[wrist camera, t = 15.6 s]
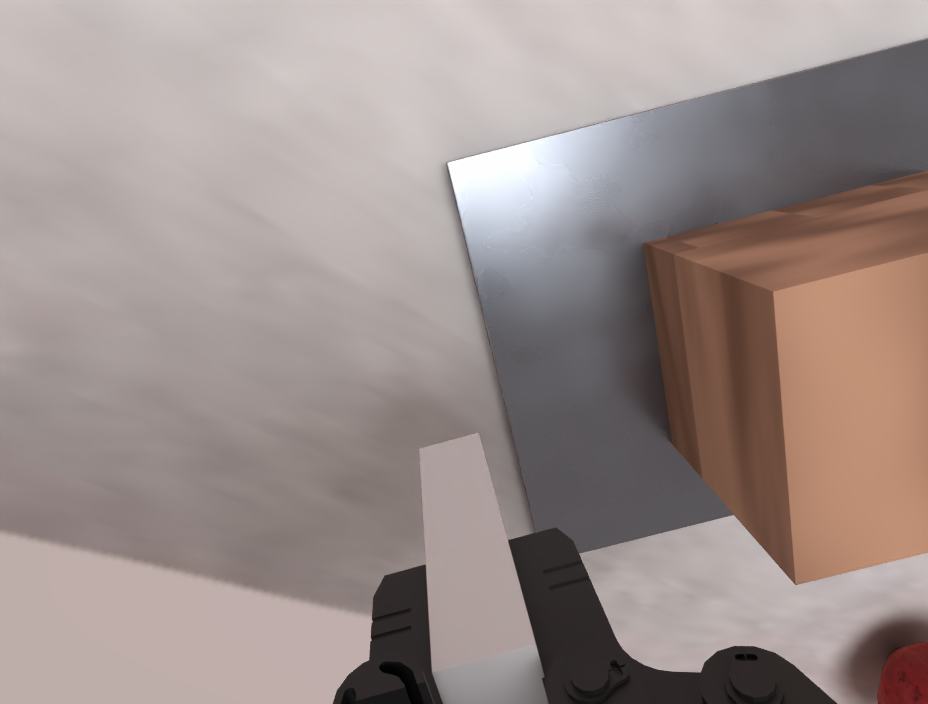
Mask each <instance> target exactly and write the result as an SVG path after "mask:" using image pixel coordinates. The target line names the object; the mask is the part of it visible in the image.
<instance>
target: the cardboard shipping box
mask: <svg viewBox="0 0 928 704" xmlns="http://www.w3.org/2000/svg"><path fill="white" fill-rule="evenodd" d="M643 244H644V251H645V258H646V265H647V272H648V279H649V286H650V293H651V300H652V306H653V313H654V320H655V327H656V334H657V341H658V348H659V355H660V362H661V369H662V376H663V383H664V389H665V396H666V403H667V410H668V417H669V424H670V431H671V438H672V445H673V446H674V447H675V448H676V449H677V451H678V452H679V453H680V454H681V455H682V456H683V457H684V458H685V460H686V461H687V462H688V463H689V464H690V465H691V466H692V468H693V469H694V470H695V471H696V472H697V473H698V474H699V476H700V477H701V478H702V479H703V480H704V481H705V482H706V484H707V485H708V486H709V487H710V488H711V489H712V490H713V492H714V493H715V494H716V495H717V496H718V497H719V498H720V499H721V501H722V502H723V503H724V504H725V505H726V506H727V507H728V509H729V510H730V511H731V512H732V513H733V514H734V515H735V517H736V518H737V519H738V520H739V521H740V522H741V523H742V525H743V526H744V527H745V528H746V529H747V530H748V531H749V533H750V534H751V535H752V536H753V537H754V538H755V539H756V540H757V542H758V543H759V544H760V545H761V546H762V547H763V548H764V550H765V551H766V552H767V553H768V554H769V555H770V556H771V558H772V559H773V560H774V561H775V562H776V563H777V564H778V566H779V567H780V568H781V569H782V570H783V571H784V572H785V574H786V575H787V576H788V577H789V578H790V579H791V580H792V581H793V583H794V584H795V585H798V584H802V583H806V582H810V581H814V580H818V579H822V578H826V577H830V576H834V575H838V574H842V573H847V572H851V571H855V570H859V569H863V568H867V567H871V566H875V565H879V564H883V563H887V562H891V561H895V560H899V559H903V558H907V557H911V556H915V555H919V554H924V553H928V171H924V172H920V173H916V174H912V175H908V176H904V177H900V178H897V179H893V180H889V181H885V182H881V183H877V184H873V185H869V186H865V187H861V188H857V189H853V190H849V191H845V192H841V193H837V194H833V195H830V196H826V197H822V198H818V199H814V200H810V201H806V202H802V203H798V204H794V205H790V206H786V207H782V208H778V209H774V210H770V211H766V212H763V213H759V214H755V215H751V216H747V217H743V218H739V219H735V220H731V221H727V222H723V223H719V224H715V225H711V226H707V227H703V228H699V229H696V230H692V231H688V232H684V233H680V234H676V235H672V236H668V237H664V238H660V239H656V240H652V241H648V242H644V243H643Z"/></svg>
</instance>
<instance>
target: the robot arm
mask: <svg viewBox="0 0 928 704" xmlns="http://www.w3.org/2000/svg"><path fill="white" fill-rule="evenodd" d="M419 455H420V472H421V490H422V507H423V524H424V542H425V559H426V565H422V566H418V567H415V568H411V569H407V570H404V571H400V572H396V573H393V574H389V575H385V576H384V578H383V580H382V582H381V584H380V586H379V587H378V589H377V591H376V593H375V595H374V597H373V611H372V621H373V623H372V627H371V639H372V641H371V643H370V658H369V661H367V662H365V663H363V664H362V665H360V666H359V667H358V668H356V669H355V670H354V671H353V672H351V674H349V675H348V676H347V678H346V679H345V680H344V682H343V683H342V684H341V686H340V687H339V689H338V690H337V692H336V695H335V699H334V702H333V704H837V703H836V702H835V701H834V700H832V699H831V698H830V697H829V696H828V695H827V694H826V693H825V692H823V691H822V690H821V689H820V688H819V687H818V686H817V685H816V684H814V683H813V682H812V681H811V680H810V679H809V678H808V677H806V676H805V675H804V674H803V673H802V672H801V671H800V670H799V669H797V668H796V667H795V666H794V665H793V664H791V663H790V662H788V661H787V660H785V659H784V658H782V657H781V656H779V655H777V654H776V653H774V652H771V651H767V650H764V649H761V648H758V647H754V646H733V647H730V648H727V649H724V650H721V651H717V652H716V653H715V654H714V655H713V656H712V657H710V658H709V659H708V660H707V661H706V662H705V663H704V666H703V669H702V671H701V673H695V672H670V671H663V670H657V669H654V668H651V667H648V666H645V665H643V664H641V663H639V662H638V661H636V660H634V659H633V658H631V657H630V656H629V655H628V654H627V653H626V652H625V651H624V650H623V649H622V648H621V646H620V644H619V643H618V641H617V639H616V637H615V635H614V633H613V631H612V628H611V626H610V624H609V621H608V619H607V617H606V615H605V612H604V610H603V608H602V605H601V603H600V601H599V599H598V596H597V594H596V592H595V589H594V587H593V585H592V583H591V580H590V579H589V576H588V573H587V571H586V569H585V567H584V564H583V563H582V560H581V557H580V555H579V553H578V550H577V548H576V546H575V544H574V541H573V540H572V539H570V538H569V537H568V536H567V535H565V534H564V533H563V532H561V531H560V530H559V529H558V528H556V527H555V528H552V529H548V530H544V531H541V532H537V533H533V534H530V535H526V536H522V537H518V538H515V539H511V540H508V539H507V535H506V532H505V528H504V524H503V521H502V517H501V513H500V509H499V506H498V502H497V498H496V495H495V491H494V487H493V484H492V480H491V476H490V473H489V469H488V465H487V461H486V458H485V454H484V450H483V447H482V443H481V439H480V436H479V433H475V434H471V435H468V436H464V437H460V438H456V439H453V440H449V441H445V442H442V443H438V444H434V445H430V446H427V447H423V448H419Z"/></svg>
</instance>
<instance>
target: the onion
mask: <svg viewBox="0 0 928 704" xmlns="http://www.w3.org/2000/svg"><path fill="white" fill-rule="evenodd" d="M877 699H878V704H928V642H921V643H916V644H912V645H909V646H905V647H902V648H898V649H895V650H894V651H892V652H891V653H890V654H889V656H888V658H887V662H886V664H885V666H884V668H883V671H882V675H881V679H880V683H879V688H878V694H877Z"/></svg>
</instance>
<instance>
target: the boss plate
mask: <svg viewBox="0 0 928 704" xmlns="http://www.w3.org/2000/svg"><path fill="white" fill-rule="evenodd" d="M446 164H447V168H448V172H449V176H450V180H451V184H452V188H453V192H454V197H455V201H456V205H457V209H458V213H459V217H460V221H461V225H462V230H463V234H464V238H465V242H466V246H467V250H468V254H469V258H470V263H471V267H472V271H473V275H474V279H475V283H476V287H477V291H478V295H479V300H480V304H481V308H482V312H483V316H484V320H485V324H486V328H487V333H488V337H489V341H490V345H491V349H492V353H493V357H494V361H495V366H496V370H497V374H498V378H499V382H500V386H501V390H502V394H503V399H504V403H505V407H506V411H507V415H508V419H509V423H510V427H511V432H512V436H513V440H514V444H515V448H516V452H517V456H518V460H519V465H520V469H521V473H522V477H523V481H524V485H525V489H526V493H527V498H528V502H529V506H530V510H531V514H532V518H533V522H534V526H535V531H536V533H537V532H541V531H544V530H548V529H552V528H555V527H556V528H558V529H559V530H560V531H561V532H563V533H564V534H565V535H567V536H568V537H569V538H570V539H572V540H573V541H574V544H575V546H576V548H577V550H578V553H583V552H587V551H591V550H595V549H599V548H603V547H607V546H611V545H615V544H619V543H623V542H627V541H631V540H635V539H639V538H643V537H647V536H651V535H655V534H659V533H663V532H667V531H671V530H675V529H679V528H683V527H687V526H691V525H695V524H699V523H703V522H707V521H711V520H715V519H719V518H723V517H727V516H731V515H734V514H733V513H732V512H731V511H730V510H729V509H728V507H727V506H726V505H725V504H724V503H723V502H722V501H721V499H720V498H719V497H718V496H717V495H716V494H715V493H714V492H713V490H712V489H711V488H710V487H709V486H708V485H707V484H706V482H705V481H704V480H703V479H702V478H701V477H700V476H699V474H698V473H697V472H696V471H695V470H694V469H693V468H692V466H691V465H690V464H689V463H688V462H687V461H686V460H685V458H684V457H683V456H682V455H681V454H680V453H679V452H678V451H677V449H676V448H675V447H674V446H673V445H672V438H671V431H670V424H669V417H668V410H667V403H666V396H665V389H664V383H663V376H662V369H661V362H660V355H659V348H658V341H657V334H656V327H655V320H654V313H653V306H652V300H651V293H650V286H649V279H648V272H647V265H646V258H645V251H644V244H643V243H644V242H648V241H652V240H656V239H660V238H664V237H668V236H672V235H676V234H680V233H684V232H688V231H692V230H696V229H699V228H703V227H707V226H711V225H715V224H719V223H723V222H727V221H731V220H735V219H739V218H743V217H747V216H751V215H755V214H759V213H763V212H766V211H770V210H774V209H778V208H782V207H786V206H790V205H794V204H798V203H802V202H806V201H810V200H814V199H818V198H822V197H826V196H830V195H833V194H837V193H841V192H845V191H849V190H853V189H857V188H861V187H865V186H869V185H873V184H877V183H881V182H885V181H889V180H893V179H897V178H900V177H904V176H908V175H912V174H916V173H920V172H924V171H928V38H927V39H923V40H919V41H915V42H911V43H908V44H904V45H900V46H896V47H892V48H888V49H884V50H881V51H877V52H873V53H869V54H865V55H861V56H857V57H853V58H850V59H846V60H842V61H838V62H834V63H830V64H826V65H822V66H819V67H815V68H811V69H807V70H803V71H799V72H795V73H792V74H788V75H784V76H780V77H776V78H772V79H768V80H764V81H761V82H757V83H753V84H749V85H745V86H741V87H737V88H733V89H730V90H726V91H722V92H718V93H714V94H710V95H706V96H703V97H699V98H695V99H691V100H687V101H683V102H679V103H675V104H672V105H668V106H664V107H660V108H656V109H652V110H648V111H644V112H641V113H637V114H633V115H629V116H625V117H621V118H617V119H614V120H610V121H606V122H602V123H598V124H594V125H590V126H586V127H583V128H579V129H575V130H571V131H567V132H563V133H559V134H556V135H552V136H548V137H544V138H540V139H536V140H532V141H528V142H525V143H521V144H517V145H513V146H509V147H505V148H501V149H497V150H494V151H490V152H486V153H482V154H478V155H474V156H470V157H467V158H463V159H459V160H455V161H451V162H447V163H446Z"/></svg>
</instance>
